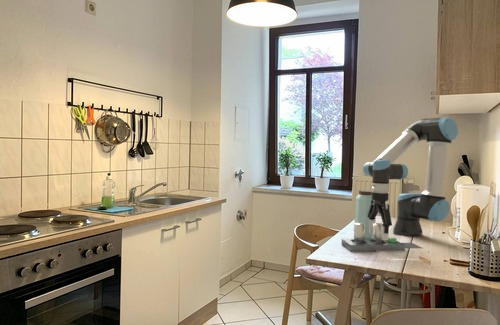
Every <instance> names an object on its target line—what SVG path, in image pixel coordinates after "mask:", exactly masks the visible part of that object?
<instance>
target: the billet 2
mask: <svg viewBox="0 0 500 325" xmlns="http://www.w3.org/2000/svg"><path fill="white" fill-rule="evenodd" d="M382 225H383V222H375V223H373V240H372V242H373V243H384V240H382Z"/></svg>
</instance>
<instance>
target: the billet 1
mask: <svg viewBox="0 0 500 325" xmlns="http://www.w3.org/2000/svg"><path fill="white" fill-rule="evenodd" d="M353 238H354V241H353V242H354V243H355V244H364V242H365V224H363V223H355V222H354V224H353Z"/></svg>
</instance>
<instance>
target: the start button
mask: <svg viewBox="0 0 500 325" xmlns="http://www.w3.org/2000/svg"><path fill="white" fill-rule="evenodd" d="M396 241H397V238H396V237H391V236H388V240H387V242H388V243H396Z"/></svg>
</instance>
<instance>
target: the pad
mask: <svg viewBox="0 0 500 325" xmlns="http://www.w3.org/2000/svg"><path fill="white" fill-rule="evenodd" d="M401 243H402V244H404V245H405V249H423V247H421V246H420V245H418V244H416V243H413V242H401Z"/></svg>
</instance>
